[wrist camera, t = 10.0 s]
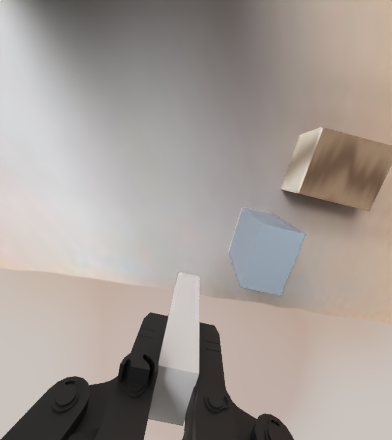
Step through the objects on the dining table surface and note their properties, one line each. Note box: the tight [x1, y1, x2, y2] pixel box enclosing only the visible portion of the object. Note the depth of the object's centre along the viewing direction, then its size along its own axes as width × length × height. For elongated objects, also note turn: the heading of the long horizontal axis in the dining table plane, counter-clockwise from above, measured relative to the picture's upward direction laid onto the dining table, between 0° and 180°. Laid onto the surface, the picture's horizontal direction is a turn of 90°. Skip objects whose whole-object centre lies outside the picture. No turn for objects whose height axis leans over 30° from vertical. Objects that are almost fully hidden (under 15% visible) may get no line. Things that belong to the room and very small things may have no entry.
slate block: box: [229, 207, 306, 296], centre depth 27 cm, size 8×5×10 cm, turn 167°
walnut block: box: [281, 127, 392, 211], centre depth 27 cm, size 8×5×10 cm
